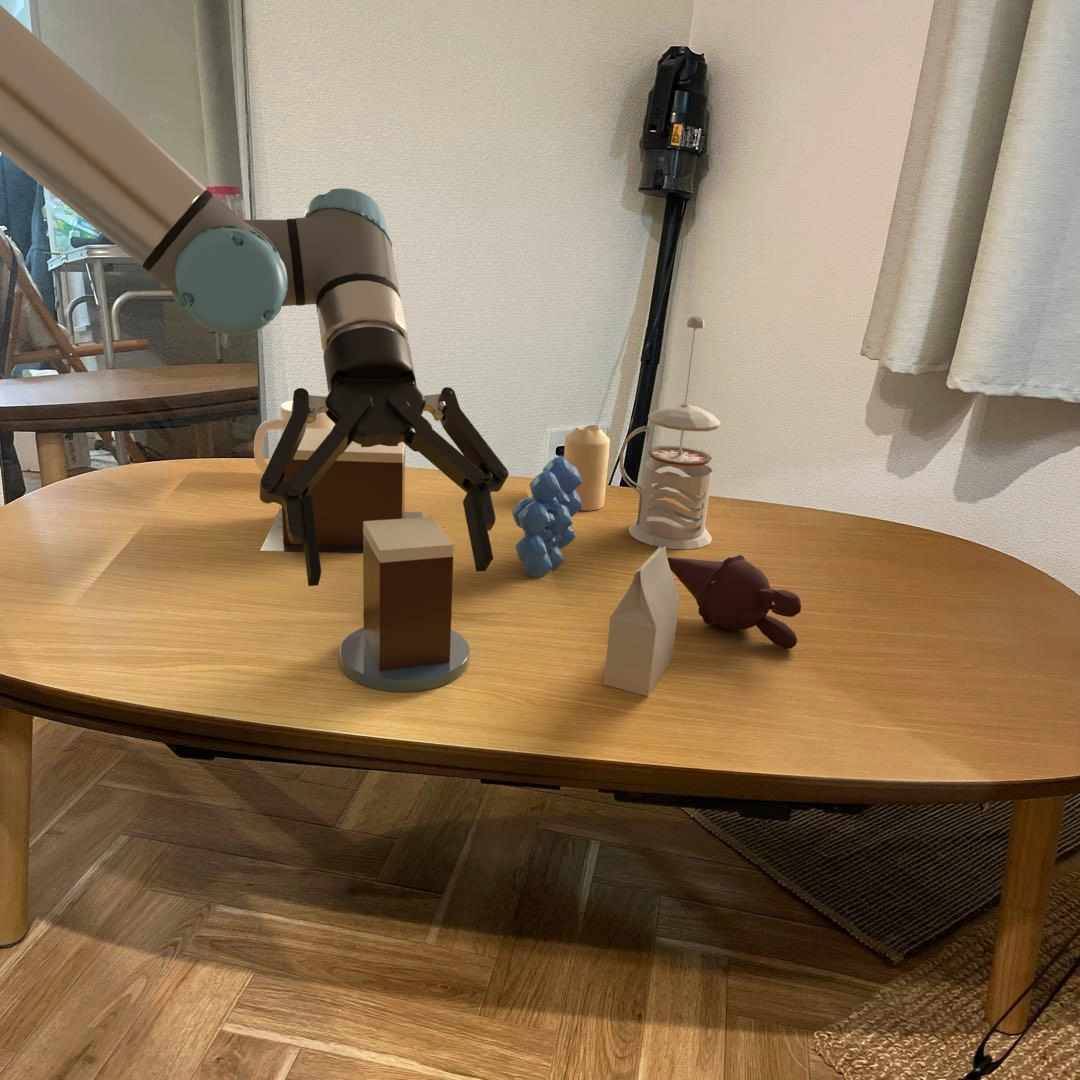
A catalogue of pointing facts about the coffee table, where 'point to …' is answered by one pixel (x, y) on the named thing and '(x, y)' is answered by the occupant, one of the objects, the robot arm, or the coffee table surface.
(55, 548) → the coffee table surface
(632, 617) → the beige milk carton
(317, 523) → the cake
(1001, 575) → the coffee table surface
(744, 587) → the icecream
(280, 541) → the cake board
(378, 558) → the cake slice
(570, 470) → the grapes
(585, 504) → the candle
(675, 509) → the french press
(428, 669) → the plate
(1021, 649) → the coffee table surface
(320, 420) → the cup
